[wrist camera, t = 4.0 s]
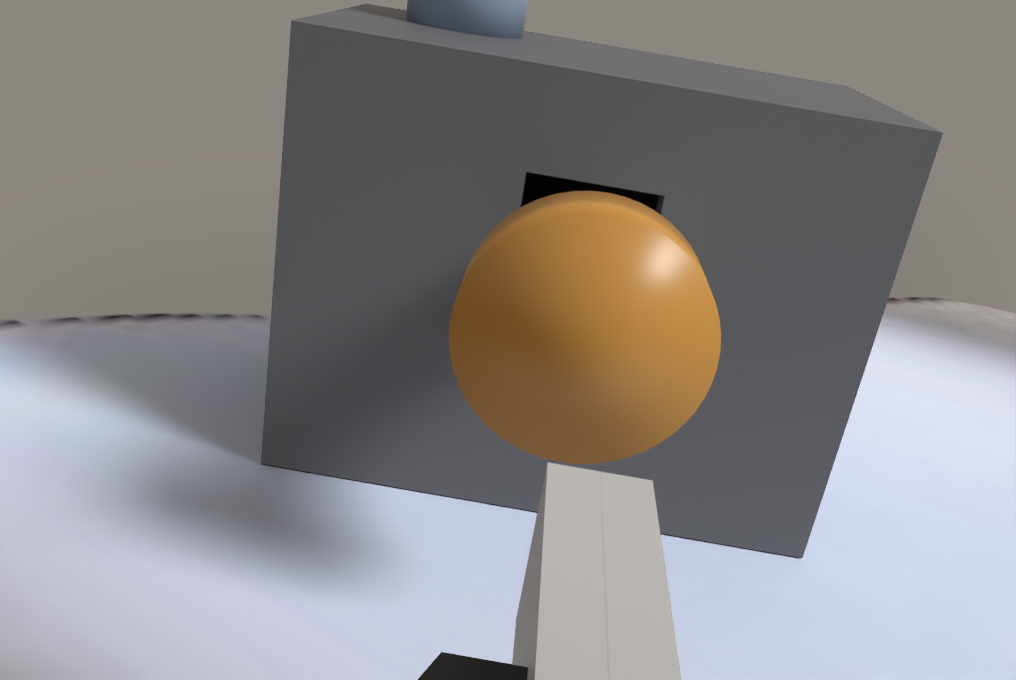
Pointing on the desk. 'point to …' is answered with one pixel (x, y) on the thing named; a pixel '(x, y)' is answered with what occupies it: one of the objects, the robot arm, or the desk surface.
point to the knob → (584, 328)
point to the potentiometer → (471, 16)
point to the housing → (557, 169)
